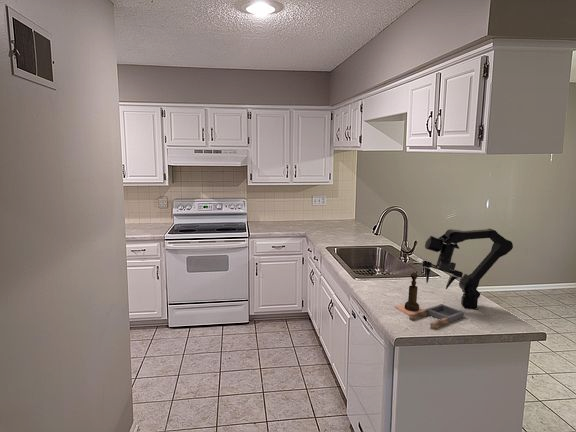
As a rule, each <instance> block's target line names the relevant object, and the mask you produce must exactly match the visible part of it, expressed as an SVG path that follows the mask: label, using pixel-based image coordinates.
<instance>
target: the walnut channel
mask: <svg viewBox="0 0 576 432" xmlns="http://www.w3.org/2000/svg"><path fill="white" fill-rule="evenodd" d="M423 309H424V310H421V311H418V312H415V313H412V314H410V316H409V315H408V316H409V318H408V319H409V321H414V320H417V319H421V318H423V317H425V316H428V315H427V310H426V309H427V308H426V309H425V308H423ZM447 323H448V318H443V319H440V320H439V319H437V320H435V321H432V322H430V327H429V329H431V330H435V329H437V327H438V328H440V327H443V326H446V325H448V324H449V323H448V324H447ZM445 324H446V325H445ZM442 325H443V326H442Z"/></svg>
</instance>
